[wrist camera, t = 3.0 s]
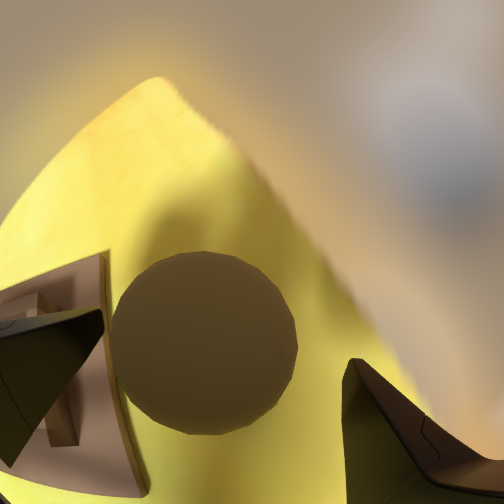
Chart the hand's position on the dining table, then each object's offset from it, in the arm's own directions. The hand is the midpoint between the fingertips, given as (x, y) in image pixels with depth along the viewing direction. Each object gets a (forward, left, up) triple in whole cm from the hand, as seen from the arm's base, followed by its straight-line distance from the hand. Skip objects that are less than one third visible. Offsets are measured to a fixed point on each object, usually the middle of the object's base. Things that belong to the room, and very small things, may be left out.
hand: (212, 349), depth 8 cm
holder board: (+2, +17, -8) cm, 19 cm away
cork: (0, 0, -8) cm, 8 cm away
